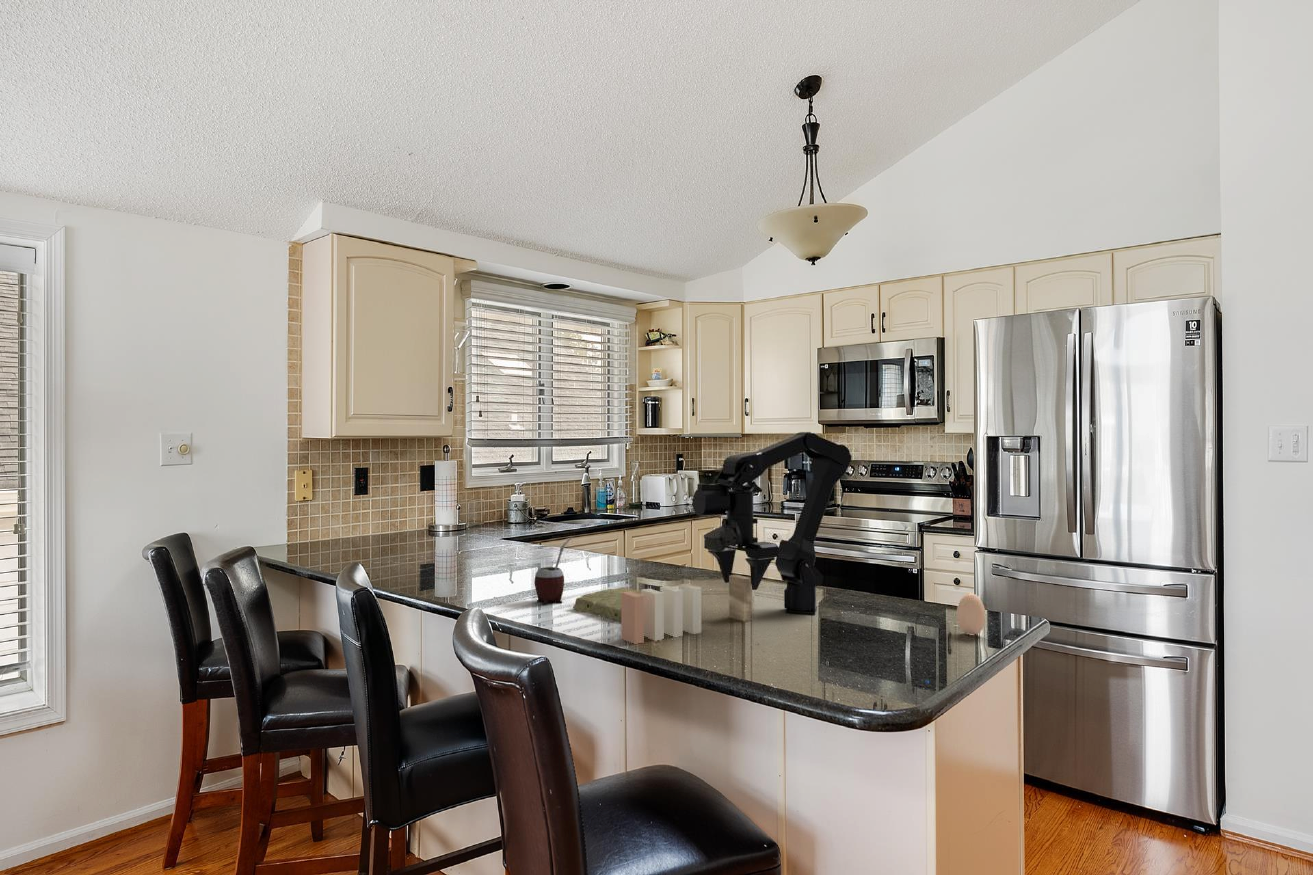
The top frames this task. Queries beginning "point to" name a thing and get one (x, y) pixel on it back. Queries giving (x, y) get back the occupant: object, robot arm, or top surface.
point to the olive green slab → (603, 603)
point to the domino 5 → (740, 598)
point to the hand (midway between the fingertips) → (740, 586)
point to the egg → (971, 614)
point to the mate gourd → (550, 582)
